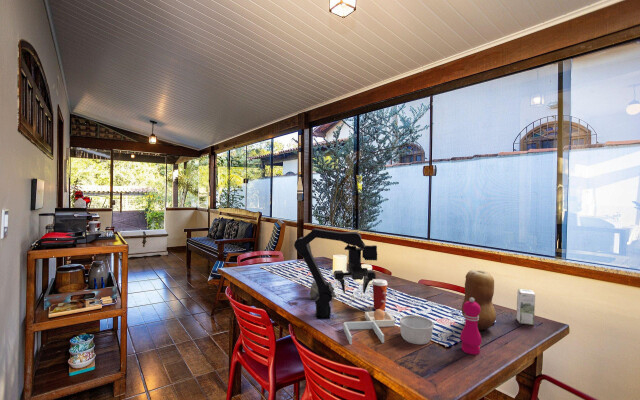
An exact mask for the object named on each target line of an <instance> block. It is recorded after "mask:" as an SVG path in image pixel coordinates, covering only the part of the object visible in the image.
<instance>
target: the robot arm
mask: <svg viewBox="0 0 640 400" xmlns="http://www.w3.org/2000/svg"><path fill="white" fill-rule="evenodd" d="M316 238H317V239H325V240H329V241H330V240H332V241H339V242H342V243H345V244H346V246H345V247H344V250H345V251H348V261H347V263H348V264H347V265H348V266H347V272H344V271H343V270H334V271H333V273H332V274H333V278H334V280H336V281H337V282H339V283H340V285H341V288H342V289H341V290H342V293H343V294H346V288H345V286H346V284H345V281H346V280H345V279H344V278H351V279H352V280H354V281H356V280H360V281H363V283H362V292H363V294H365V292H366V291H367V287H368V285H369V283H370V282H371V281H372V282H373V280H375V279H377V278H376V277H377V275H376V272H374V271H373V270H372V269H368V267H362V259H364V261H378V246H377V245H374V244H373V245H369V244H368V245H366V244H365V242H364V241H363V239H362V235H361V234H360V232H358V231H345V232H344V231H343V232H341V231H334V230H325V229H319V228H313V229H312V230H310V232H309V233H307V234H306V235H305V236H301V237H299V238H297V239H296V240H295V241H294V245H293V247H294V248H295V250H296V252H297V253H298V254H299V255H300V256H301V257H302V258H303V260H304V261H305V263H306V266H307V268H308V270H309V272H310V274H311V277H312V278H313V280H314V282H316V284H317V287H318V293H319V296H318V297H317V299H315V301H314V302H315V312H314V315H315V319H316V320H324V319H329V320H330V319H331V314H332V312H331V311H332V306H331V303H330V302H331V301H332V299H333V298H332V297H333V295H334V293H335V288H334V287H333V285H332V282H331V281H327V280H325V277H324V275H323V274H322V272H321V269H320V267H319V266H318V263H317V262H316V258H314V255H313V253H312V248H311V244H310V243H312V241H314V239H316Z"/></svg>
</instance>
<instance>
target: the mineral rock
mask: <svg viewBox="0 0 640 400" xmlns="http://www.w3.org/2000/svg"><path fill="white" fill-rule="evenodd" d="M318 296H319V293H318V287H317V284H316V282H315V281H312V282H311V286H310V289H309V300H316V299H317V297H318ZM336 297H337V294H336V293H335V292H334V295H333V297H332V299H333V298H335V299H336Z"/></svg>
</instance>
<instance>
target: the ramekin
mask: <svg viewBox="0 0 640 400" xmlns="http://www.w3.org/2000/svg"><path fill="white" fill-rule="evenodd" d="M398 324H399V325H400V326H399V327H400V329H399V330H400V335H401V337H402V338H403V340H404V341H406V342H407V343H410V344H413V345H414V344H415V345H427V344H428V343H430V342H431V340H432V336H433V329H434V327H435V326H434V325H435V324H434V322H433V320H432V319H429V318H427V317H425V316H421V315H415V314H411V315H410V314H408V315H403V316H401V317H400V318H399V323H398Z"/></svg>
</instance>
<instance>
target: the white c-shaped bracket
mask: <svg viewBox="0 0 640 400" xmlns="http://www.w3.org/2000/svg"><path fill="white" fill-rule="evenodd" d="M342 325H343V326H342V328H343V332H344V334H345V337H346V338H347V341H348V343H349V345H352V343H353V336H352V333H351V332H350V330H351V331H352V330H373V331H374V333H375V334H376V336H377V338H378V339H379V341H380V342H381V344H384V343H385V334H384V333H383V332H382V330H381V328H380V327H378V326H377V324H376V323H375V321H367V320H365V321H364V320H363V321H343V323H342Z"/></svg>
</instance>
